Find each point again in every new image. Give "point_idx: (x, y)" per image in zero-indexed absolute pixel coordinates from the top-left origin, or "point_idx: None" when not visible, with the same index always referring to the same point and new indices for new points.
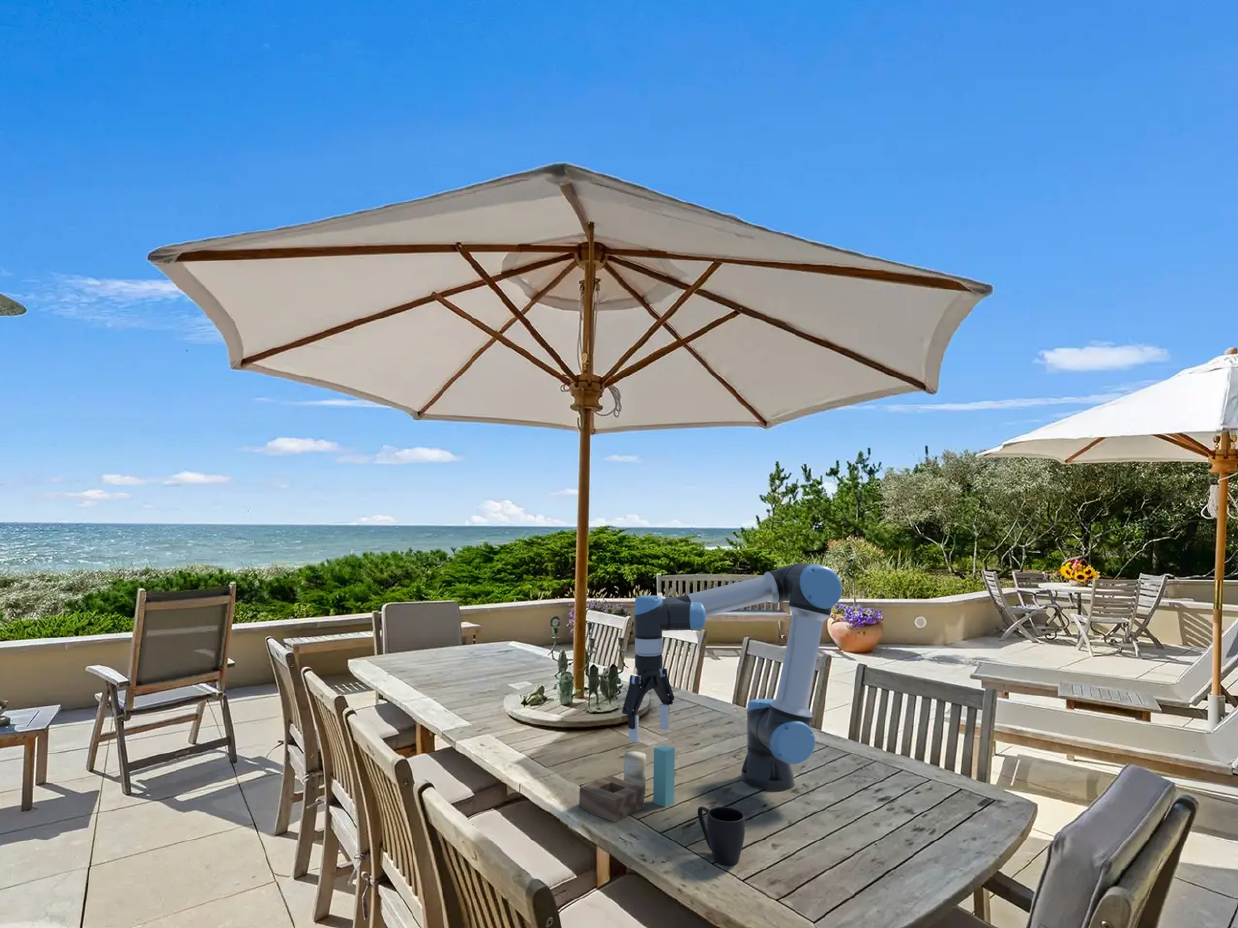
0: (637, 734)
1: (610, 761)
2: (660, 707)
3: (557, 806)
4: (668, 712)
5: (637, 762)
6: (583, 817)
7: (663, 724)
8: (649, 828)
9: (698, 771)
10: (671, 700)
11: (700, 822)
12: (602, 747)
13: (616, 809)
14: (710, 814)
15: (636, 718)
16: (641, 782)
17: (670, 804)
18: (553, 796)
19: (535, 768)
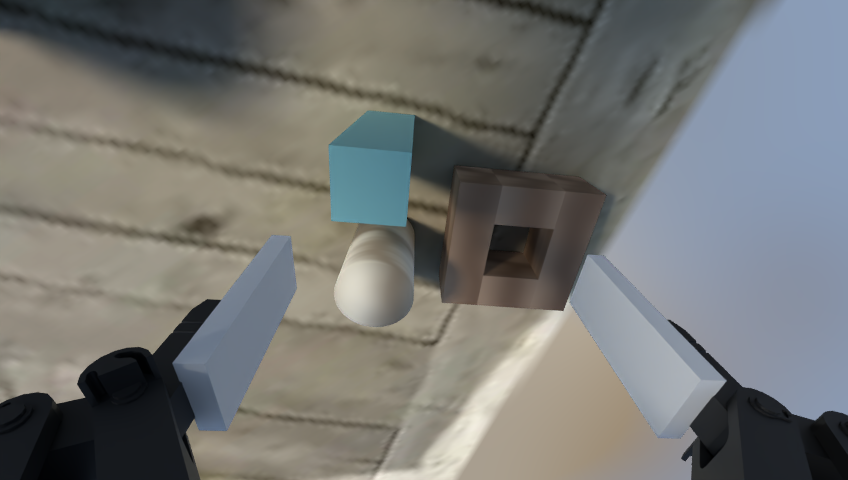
0: (622, 280)
1: (267, 372)
2: (239, 393)
3: (560, 316)
4: (223, 308)
5: (401, 265)
6: (588, 246)
7: (284, 280)
8: (575, 72)
9: (101, 176)
10: (85, 394)
11: None
12: None
13: (585, 185)
14: None
15: (709, 365)
16: (390, 226)
17: (387, 112)
18: (518, 347)
19: (417, 436)
